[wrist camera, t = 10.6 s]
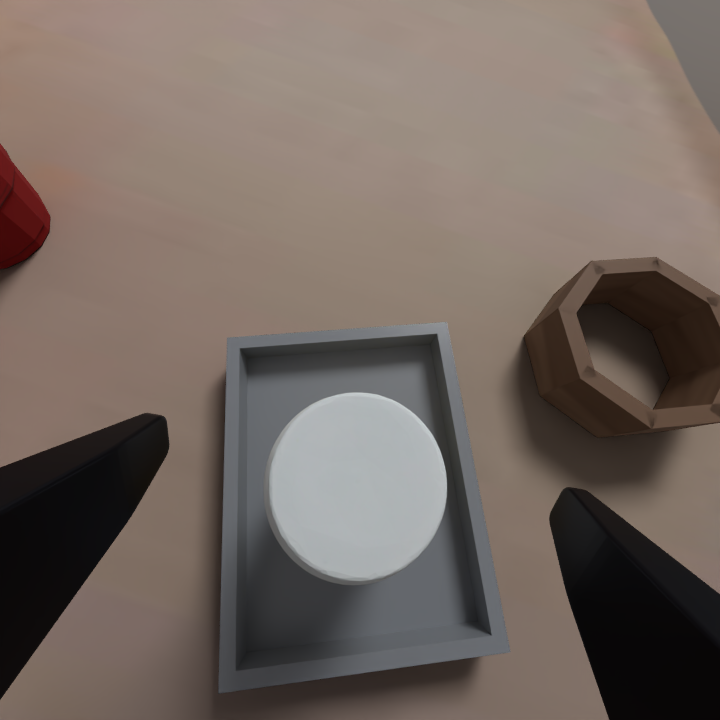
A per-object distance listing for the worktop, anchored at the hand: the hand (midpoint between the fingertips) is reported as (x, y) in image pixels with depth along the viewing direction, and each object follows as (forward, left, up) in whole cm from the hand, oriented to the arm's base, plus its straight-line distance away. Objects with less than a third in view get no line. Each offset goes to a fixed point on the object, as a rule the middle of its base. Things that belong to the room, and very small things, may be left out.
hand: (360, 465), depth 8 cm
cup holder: (+5, -15, -10) cm, 19 cm away
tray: (0, 0, -10) cm, 10 cm away
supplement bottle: (0, 0, -10) cm, 10 cm away
